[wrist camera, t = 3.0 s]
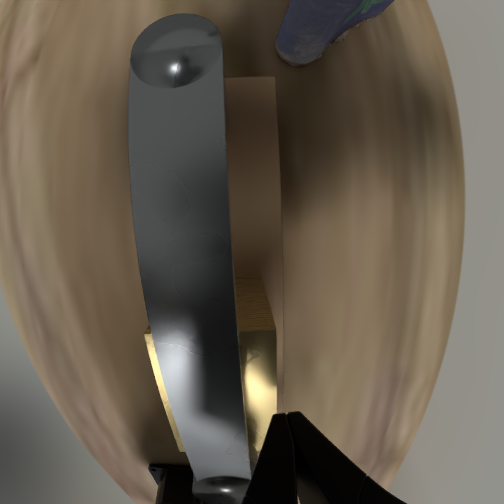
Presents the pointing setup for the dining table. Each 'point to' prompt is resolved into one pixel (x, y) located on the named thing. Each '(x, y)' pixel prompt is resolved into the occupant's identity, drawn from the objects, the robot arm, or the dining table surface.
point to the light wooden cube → (244, 360)
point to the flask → (320, 26)
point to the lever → (189, 244)
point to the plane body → (257, 193)
